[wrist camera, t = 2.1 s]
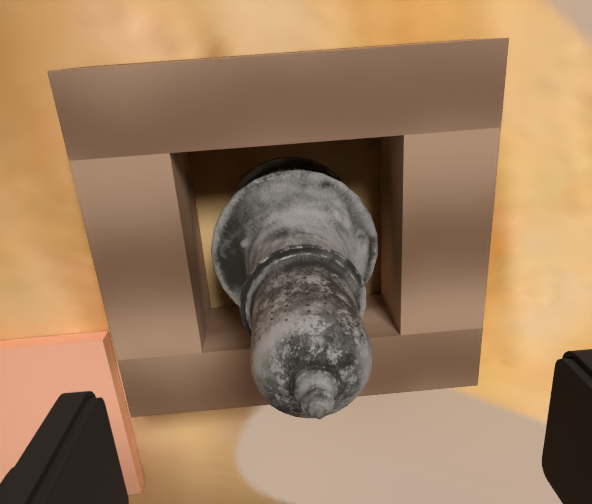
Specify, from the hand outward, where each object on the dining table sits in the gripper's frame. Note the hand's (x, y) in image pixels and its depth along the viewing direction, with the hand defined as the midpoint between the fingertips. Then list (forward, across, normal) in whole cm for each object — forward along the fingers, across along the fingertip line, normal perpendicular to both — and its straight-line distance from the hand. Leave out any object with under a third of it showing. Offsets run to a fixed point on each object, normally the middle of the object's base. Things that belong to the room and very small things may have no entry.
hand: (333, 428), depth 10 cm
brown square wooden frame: (+12, 0, -1) cm, 12 cm away
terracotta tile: (+12, +13, +8) cm, 20 cm away
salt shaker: (+12, 0, -1) cm, 12 cm away
